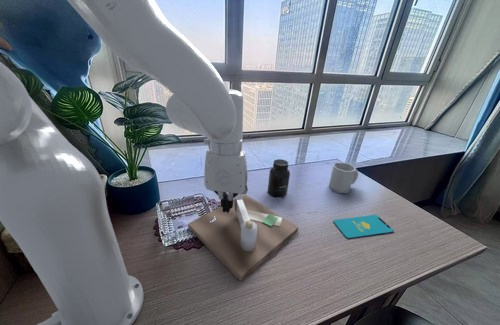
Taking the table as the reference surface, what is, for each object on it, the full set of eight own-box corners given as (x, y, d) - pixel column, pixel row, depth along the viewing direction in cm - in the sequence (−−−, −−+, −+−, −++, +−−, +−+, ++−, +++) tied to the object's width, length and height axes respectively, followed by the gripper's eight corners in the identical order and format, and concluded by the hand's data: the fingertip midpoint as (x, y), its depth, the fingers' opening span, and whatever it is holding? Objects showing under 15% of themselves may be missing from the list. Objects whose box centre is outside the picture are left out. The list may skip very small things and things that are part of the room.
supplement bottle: (282, 201, 70) (286, 168, 65) (264, 194, 73) (266, 163, 68) (290, 191, 75) (294, 161, 70) (272, 185, 78) (275, 156, 73)
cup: (325, 183, 81) (329, 162, 77) (348, 181, 83) (353, 161, 79) (335, 194, 75) (341, 172, 71) (360, 192, 77) (367, 170, 73)
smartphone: (332, 219, 62) (376, 214, 65) (331, 221, 62) (375, 216, 65) (347, 238, 55) (395, 231, 58) (346, 240, 56) (394, 233, 59)
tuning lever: (257, 250, 49) (259, 227, 46) (242, 253, 48) (243, 229, 45) (243, 211, 62) (244, 191, 58) (231, 213, 61) (231, 192, 58)
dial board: (240, 281, 44) (240, 275, 43) (188, 227, 57) (187, 222, 56) (297, 231, 58) (298, 226, 57) (244, 197, 71) (244, 193, 70)
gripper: (188, 148, 47) (195, 214, 55) (255, 155, 45) (252, 222, 53) (201, 137, 53) (205, 197, 61) (260, 142, 51) (256, 204, 59)
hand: (227, 209), depth 57 cm, fingers closed
